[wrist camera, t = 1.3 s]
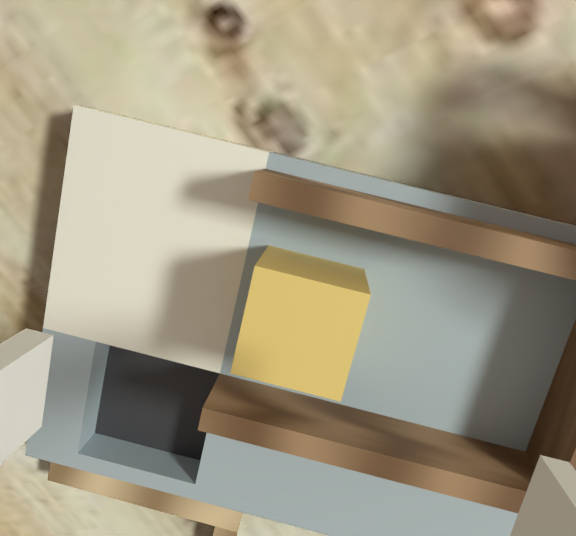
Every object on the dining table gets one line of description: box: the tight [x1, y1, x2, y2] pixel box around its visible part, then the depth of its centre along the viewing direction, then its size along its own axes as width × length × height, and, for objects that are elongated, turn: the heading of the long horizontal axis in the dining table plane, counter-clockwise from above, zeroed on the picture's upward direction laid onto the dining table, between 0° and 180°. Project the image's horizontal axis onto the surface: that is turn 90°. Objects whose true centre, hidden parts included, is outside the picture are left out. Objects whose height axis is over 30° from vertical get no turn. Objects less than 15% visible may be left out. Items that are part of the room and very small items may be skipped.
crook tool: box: [48, 462, 242, 536], centre depth 34 cm, size 12×5×1 cm, turn 76°
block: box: [230, 245, 371, 402], centre depth 26 cm, size 5×5×5 cm
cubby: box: [198, 169, 576, 513], centre depth 26 cm, size 18×12×4 cm
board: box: [25, 105, 576, 536], centre depth 30 cm, size 28×20×2 cm
